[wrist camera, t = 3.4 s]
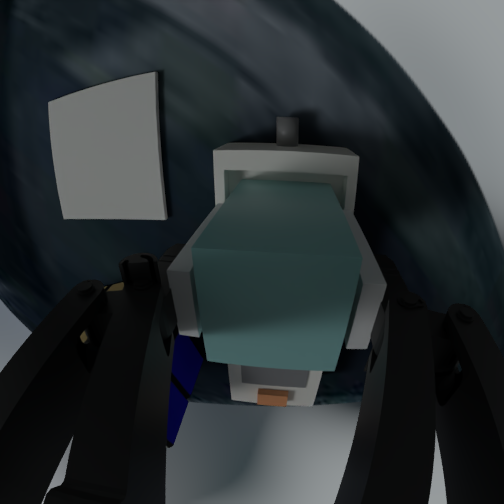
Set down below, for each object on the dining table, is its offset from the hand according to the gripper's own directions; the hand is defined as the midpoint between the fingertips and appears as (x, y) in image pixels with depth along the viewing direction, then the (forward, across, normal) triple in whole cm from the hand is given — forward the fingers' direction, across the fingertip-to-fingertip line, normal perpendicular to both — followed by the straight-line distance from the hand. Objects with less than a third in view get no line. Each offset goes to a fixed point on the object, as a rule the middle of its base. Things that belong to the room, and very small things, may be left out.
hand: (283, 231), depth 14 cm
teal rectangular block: (+1, 0, 0) cm, 1 cm away
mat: (+4, -13, +4) cm, 14 cm away
